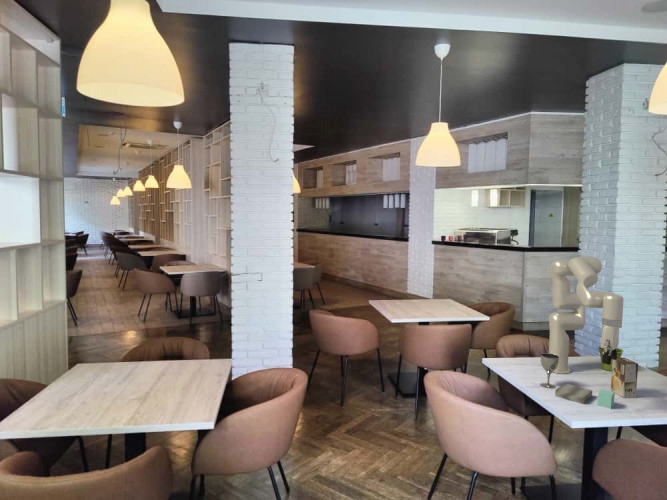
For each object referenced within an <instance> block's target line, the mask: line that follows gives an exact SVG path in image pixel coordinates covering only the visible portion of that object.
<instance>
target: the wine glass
mask: <svg viewBox="0 0 667 500" xmlns="http://www.w3.org/2000/svg"><path fill="white" fill-rule="evenodd" d="M540 359H541V362H540V365H541V366H542V368H543V370H544V371H545V372H546V374H547V382H541V383H540V384H539V385H540V386H541V387H542V388H546V389H550V390H551V389H557V386H556V385H554V383H553V384H552V383H550V380H551V379H550V377H551V374H552V373H554V372H553V371H554V370H555V369H556V368H557V366H558V363H559V356H557V355H555V354H550V353H549V352H542V353H541V354H540Z"/></svg>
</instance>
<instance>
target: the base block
mask: <svg viewBox="0 0 667 500" xmlns="http://www.w3.org/2000/svg"><path fill="white" fill-rule="evenodd" d="M554 396H555V397H557V398H560V399H563V400H567V401H571V402H575V403H578V404H581V405H585V404H586V403H587V402H589V401H590V399H592V397H593V390H591V389H588V388H584V387H580V386H577V385H573V384H568V383H563V384H561V385H560V386H559V387H558V388H557V387H556V388H555V394H554Z"/></svg>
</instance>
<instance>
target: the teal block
mask: <svg viewBox="0 0 667 500" xmlns="http://www.w3.org/2000/svg"><path fill="white" fill-rule="evenodd" d="M615 395H616V393H615V392H613V391H611V390H607V389H603V388H602V389H600V390H599V391H598V397H597V406H599V407H603V408H606V409H609V408H610V409H612V408H613V407H614V406H615Z"/></svg>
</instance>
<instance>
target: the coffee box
mask: <svg viewBox="0 0 667 500" xmlns="http://www.w3.org/2000/svg"><path fill="white" fill-rule="evenodd" d="M638 368H639V363H637V362H635V361H633V360H630V359H629V358H626V357H621V358H617V360H613V364H612V371H611V384H610V391H611V392H615V395H618V396H620V397H622V398H624V399H627V398H628V399H631V398H632V399H633V398H636V397H637V385H638V371H639V369H638Z"/></svg>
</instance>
